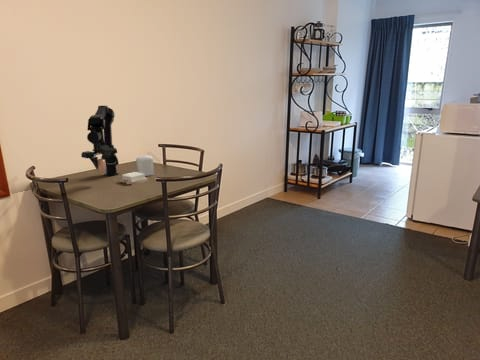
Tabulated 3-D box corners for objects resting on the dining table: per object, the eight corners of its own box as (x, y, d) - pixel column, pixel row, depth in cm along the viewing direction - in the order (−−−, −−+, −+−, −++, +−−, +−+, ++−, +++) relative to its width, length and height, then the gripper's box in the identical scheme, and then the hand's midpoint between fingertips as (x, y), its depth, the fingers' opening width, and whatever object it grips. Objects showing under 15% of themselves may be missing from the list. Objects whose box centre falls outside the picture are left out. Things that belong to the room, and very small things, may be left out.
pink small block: (94, 170, 200) (93, 159, 198) (102, 168, 204) (101, 158, 202) (100, 171, 197) (99, 160, 196) (108, 169, 201) (107, 159, 199)
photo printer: (152, 173, 226) (151, 154, 223) (155, 175, 223) (153, 155, 219) (136, 176, 221) (134, 156, 217) (138, 177, 217) (137, 157, 214)
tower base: (120, 183, 208) (119, 179, 207) (135, 179, 216) (135, 175, 216) (132, 186, 202) (132, 182, 201) (147, 182, 210) (147, 177, 210)
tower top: (122, 178, 207) (121, 174, 207) (135, 175, 214) (135, 171, 213) (131, 181, 202) (131, 177, 201) (144, 178, 209) (144, 174, 208)
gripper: (91, 143, 184) (94, 173, 188) (122, 139, 199) (124, 166, 203) (79, 141, 190) (82, 170, 195) (109, 137, 205) (112, 164, 209)
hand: (101, 167), depth 200 cm, fingers closed on pink small block, 5 cm apart
